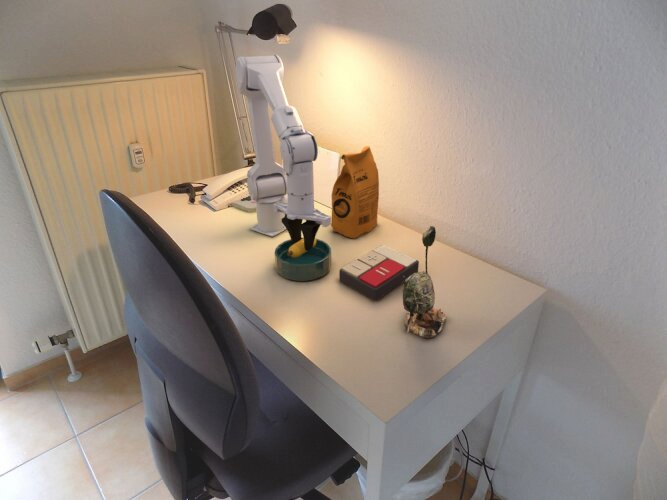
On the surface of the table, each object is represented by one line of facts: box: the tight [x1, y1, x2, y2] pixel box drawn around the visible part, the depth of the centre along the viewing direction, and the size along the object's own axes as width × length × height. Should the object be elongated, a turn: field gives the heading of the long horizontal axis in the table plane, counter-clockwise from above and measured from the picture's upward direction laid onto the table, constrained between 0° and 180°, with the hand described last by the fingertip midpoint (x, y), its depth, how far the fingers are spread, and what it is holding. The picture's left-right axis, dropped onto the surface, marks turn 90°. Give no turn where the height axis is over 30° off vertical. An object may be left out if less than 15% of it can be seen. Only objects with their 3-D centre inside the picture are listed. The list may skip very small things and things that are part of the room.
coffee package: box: [330, 145, 380, 239], centre depth 115 cm, size 10×12×22 cm
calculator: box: [338, 244, 420, 302], centre depth 97 cm, size 11×4×15 cm
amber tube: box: [287, 237, 317, 258], centre depth 99 cm, size 10×3×3 cm, turn 145°
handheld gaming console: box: [230, 196, 257, 213], centre depth 136 cm, size 10×2×15 cm
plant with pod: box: [402, 225, 447, 339], centre depth 79 cm, size 8×11×20 cm
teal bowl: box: [274, 237, 332, 282], centre depth 101 cm, size 13×13×4 cm
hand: (302, 246), depth 100 cm, fingers closed on amber tube, 3 cm apart
